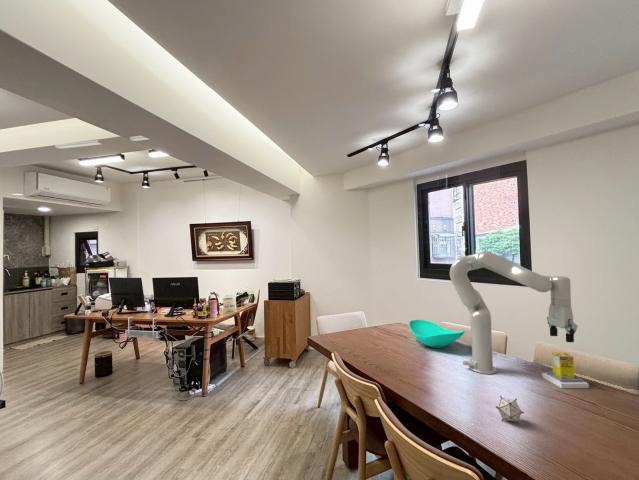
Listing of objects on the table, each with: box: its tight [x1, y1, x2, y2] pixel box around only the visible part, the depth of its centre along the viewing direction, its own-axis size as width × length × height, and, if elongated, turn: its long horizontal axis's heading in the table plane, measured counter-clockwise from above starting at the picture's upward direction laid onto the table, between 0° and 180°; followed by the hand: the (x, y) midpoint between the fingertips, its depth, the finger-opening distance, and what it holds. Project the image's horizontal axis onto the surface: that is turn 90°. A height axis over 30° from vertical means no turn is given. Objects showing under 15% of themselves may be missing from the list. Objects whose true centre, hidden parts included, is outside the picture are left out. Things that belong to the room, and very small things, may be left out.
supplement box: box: [551, 351, 575, 379], centre depth 142 cm, size 6×6×11 cm
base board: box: [541, 371, 590, 389], centre depth 142 cm, size 12×12×3 cm
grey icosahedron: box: [495, 395, 525, 425], centre depth 111 cm, size 9×8×10 cm
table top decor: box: [408, 319, 465, 349], centre depth 199 cm, size 40×28×13 cm
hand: (561, 338), depth 143 cm, fingers open, 9 cm apart
